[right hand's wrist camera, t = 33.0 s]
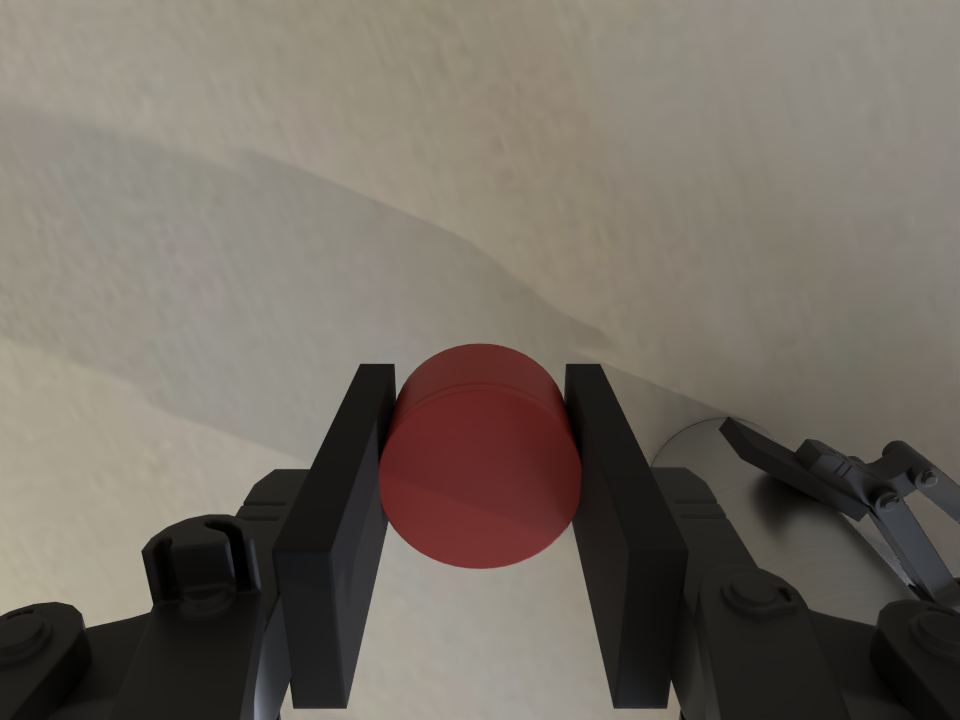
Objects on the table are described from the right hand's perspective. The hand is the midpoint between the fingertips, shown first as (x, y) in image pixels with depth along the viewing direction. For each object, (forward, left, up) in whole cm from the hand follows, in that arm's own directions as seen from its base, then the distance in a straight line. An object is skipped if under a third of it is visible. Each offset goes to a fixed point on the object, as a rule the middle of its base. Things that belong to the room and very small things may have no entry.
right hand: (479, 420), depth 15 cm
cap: (0, 0, +2) cm, 2 cm away
